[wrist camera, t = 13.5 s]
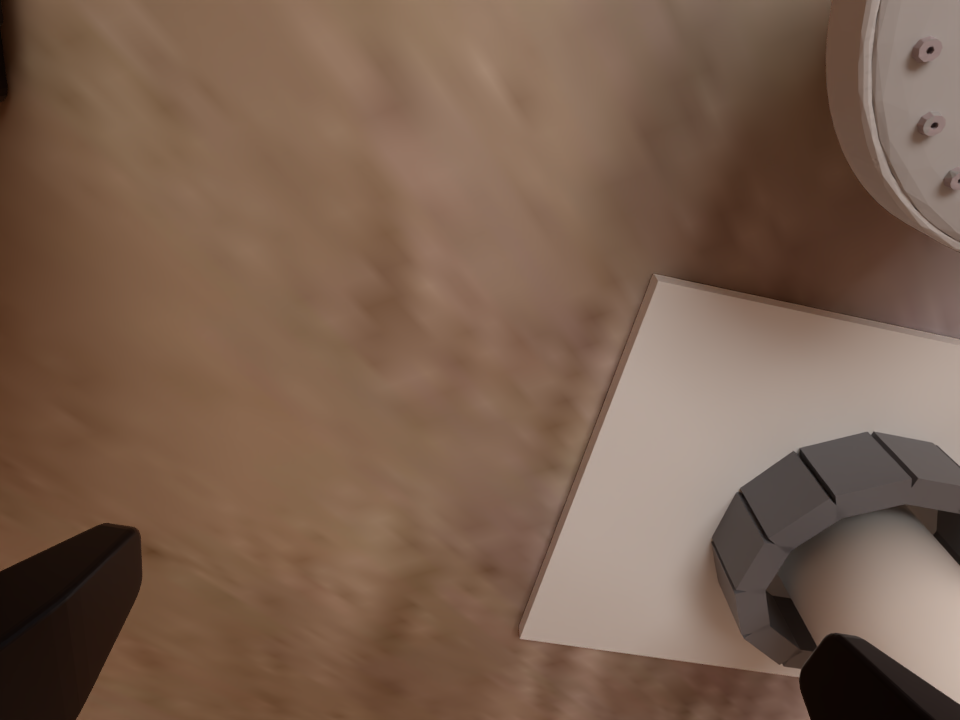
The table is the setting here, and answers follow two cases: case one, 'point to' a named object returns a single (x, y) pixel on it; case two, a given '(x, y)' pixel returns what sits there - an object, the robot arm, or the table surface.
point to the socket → (741, 473)
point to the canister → (883, 591)
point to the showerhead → (900, 106)
